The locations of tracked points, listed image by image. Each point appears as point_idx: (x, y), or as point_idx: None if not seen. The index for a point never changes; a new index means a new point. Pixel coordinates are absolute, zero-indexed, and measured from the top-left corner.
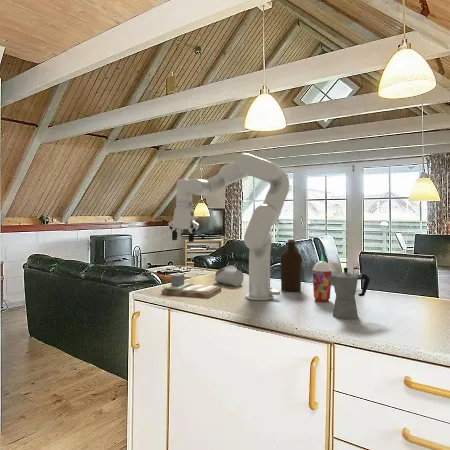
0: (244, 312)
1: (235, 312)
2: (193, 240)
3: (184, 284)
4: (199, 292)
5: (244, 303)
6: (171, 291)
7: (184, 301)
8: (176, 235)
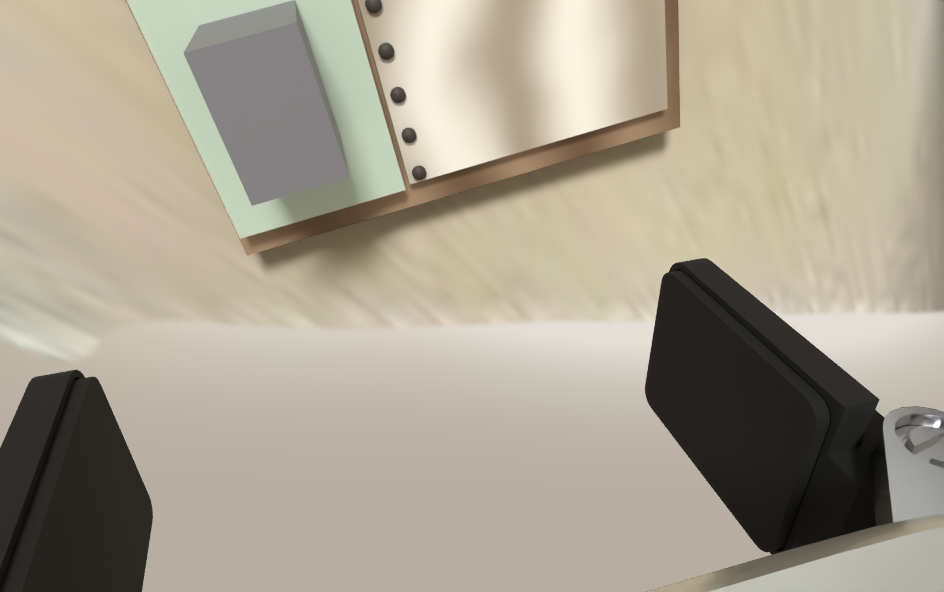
0: (931, 269)
1: (890, 294)
2: (714, 265)
3: (303, 4)
4: (590, 141)
5: (922, 108)
6: (343, 223)
7: (552, 289)
8: (79, 518)
